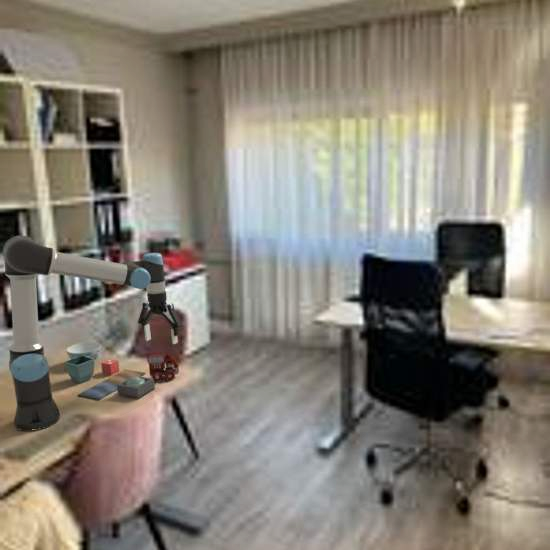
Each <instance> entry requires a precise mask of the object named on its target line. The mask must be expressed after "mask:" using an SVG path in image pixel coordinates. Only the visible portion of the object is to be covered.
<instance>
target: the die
mask: <svg viewBox="0 0 550 550" xmlns="http://www.w3.org/2000/svg"><path fill="white" fill-rule="evenodd" d="M100 366H101V373H102V375H105V374H106V375H107V376H111V375H112V376H114V375H116V374H118V373H119V372H120V366H119V360H117V359H112V358H109V359H107V360H105V361H103V362H101V363H100ZM113 374H114V375H113Z"/></svg>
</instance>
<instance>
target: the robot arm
mask: <svg viewBox="0 0 550 550" xmlns="http://www.w3.org/2000/svg"><path fill="white" fill-rule="evenodd" d="M2 255H3V256H2V257H3V258H4V260H3V261H4V274H5V276H6V277H7V278H8V279H9V280H10V281H9V282H10V297H11V299H10V302H11V317H12V336H13V337H12V338H13V343H12V344H11V345H10V346H9V361H8V367H9V371H10V373H11V378H12V382H13V386H14V393H15V399H16V400H15V401H16V410H15V415H14V419H13V424H14V427H16V428H18V429H21V430H20V431H22V430H32V429H39V428H43V427H46V428H48V427H47V426H49V427H51V426H52V425H51V424H53V425H55V424H56V423H58V422H59V421H60V419H61V414H60V410H59V407H58V405H57V404H56V402H55V400H54V399H53V393H52V385H51V379H50V372H49V371H50V370H49V367H50V366H49V363H48V360H47V357H46V356H45V351H44V347H45V346H44V343H43V342H41V341H40V339H39V335H40V333H39V315H38V313H39V312H38V296H37V295H38V292H37V291H38V290H37V277H38V276H40V275H42V276H49V275H52V274H54V275H61V276H67V277H73V278H79V279H84V280H85V279H86V280H92V281H97V282H105V283H110V284H116V285H123V286H129V287H132V288H135V289H138V290H143V289H146V292H147V293H146V296H147V301H144V302H142V307H141V310H140V314H139V318H138V321H137V323H138V324H140V325H141V326H142V332H143V333H144V337H145V338H144V339H145V340H144V341H145V342H148V341H150V340H152V337H151V336H152V335H151V327H150V323H149V322H150V320H151V319H152V317H153V315H161V316H162V317H163V318H164V319H165V320H166V321H167V322H168V324H169V325H170V326H171V328H170V331H171V333H170V334H171V342H172V343H171V344H172V345H175V344H178V343H179V339H178V336H179V328H180V327H182V325H183V323H182V322H181V320H180V317H179V315H178V313H177V311H176V310H175V306H174V303H173V302H171V303H169V304H167V300H168V299H167V291H166V280H165V267H164V266H165V265H164V260H163V255H162V253H160V252H148V253H145V254H144V255H143V256H142V259H141V260H134V261H127V262H120V263H119V262H118V263H117V262H113V261H107V260H101V259H96V258H91V257H87V256H82V255H81V256H80V255H76V254H69V253H63V252H59V251H56V250H55V249H54V248H53V247H48V246H44V245H41V244H39V243H37V242H36V241H35V239H33V238H32V237H30V236H26V235H16V236H12V237H11V238H9V239H8V240H7V241H6V242H5V243H4V246H3V248H2ZM54 423H55V424H54ZM50 425H51V426H50ZM16 428H15V429H16ZM18 429H17V430H18ZM43 429H44V428H43ZM39 430H40V429H39Z"/></svg>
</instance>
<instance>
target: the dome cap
mask: <svg viewBox="0 0 550 550" xmlns="http://www.w3.org/2000/svg"><path fill="white" fill-rule="evenodd" d="M143 383H145V380H144V379H141V378H139V377H132V378H131V379H130V380H129V381H127V382H126V384H127V385H129V386H135V387H138V386H139V385H141V384H143Z"/></svg>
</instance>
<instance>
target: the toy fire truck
mask: <svg viewBox="0 0 550 550" xmlns="http://www.w3.org/2000/svg"><path fill="white" fill-rule="evenodd" d="M146 358H147V359H146V360H147V364H148V369H149V377H150V378H153V379H154V383H155V382H156V383H158V382H157V381H159V382H160V381H162V379H163V376H164V378H165V380H167V381H172V380H173V381H174V379H175V376H176V375H178V374H179V373H180V368H179V367H180V366H179V364H178V362H177V361H176V359H175V357H173V356H172V355H171V354H170V353H166V355H165V354H156V355H147V357H146Z"/></svg>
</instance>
